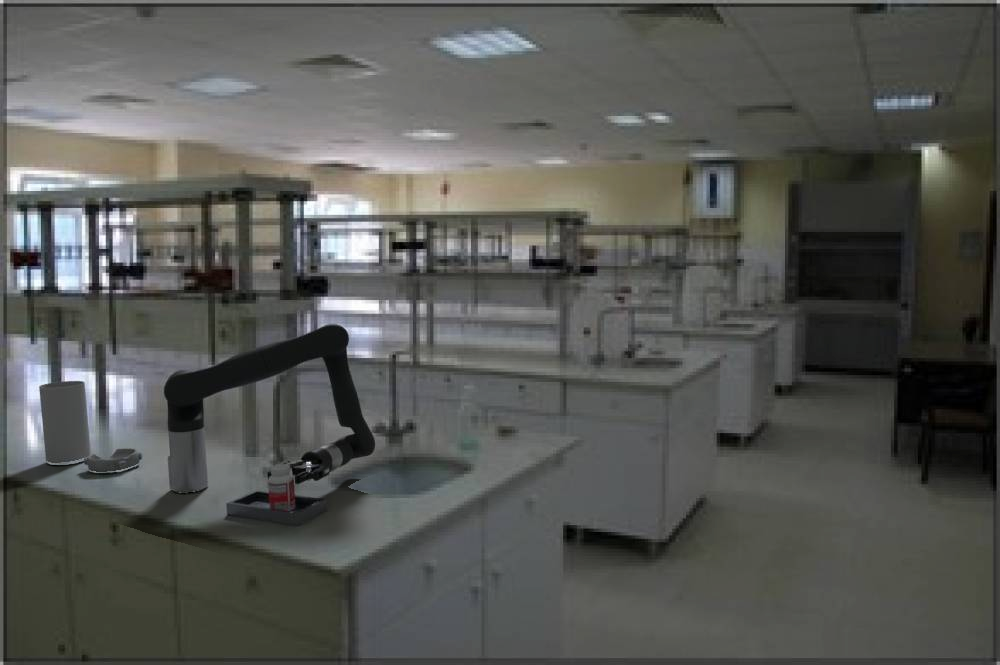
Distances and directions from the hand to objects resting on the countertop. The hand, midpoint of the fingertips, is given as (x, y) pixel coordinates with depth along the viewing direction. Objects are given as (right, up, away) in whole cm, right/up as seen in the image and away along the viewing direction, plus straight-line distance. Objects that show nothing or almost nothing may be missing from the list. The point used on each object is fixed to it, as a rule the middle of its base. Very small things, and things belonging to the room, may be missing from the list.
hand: (282, 478), depth 186 cm
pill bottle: (0, -8, +1) cm, 8 cm away
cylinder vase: (-84, -5, +53) cm, 100 cm away
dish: (-64, -6, +44) cm, 78 cm away
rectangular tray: (-2, -9, +1) cm, 9 cm away
